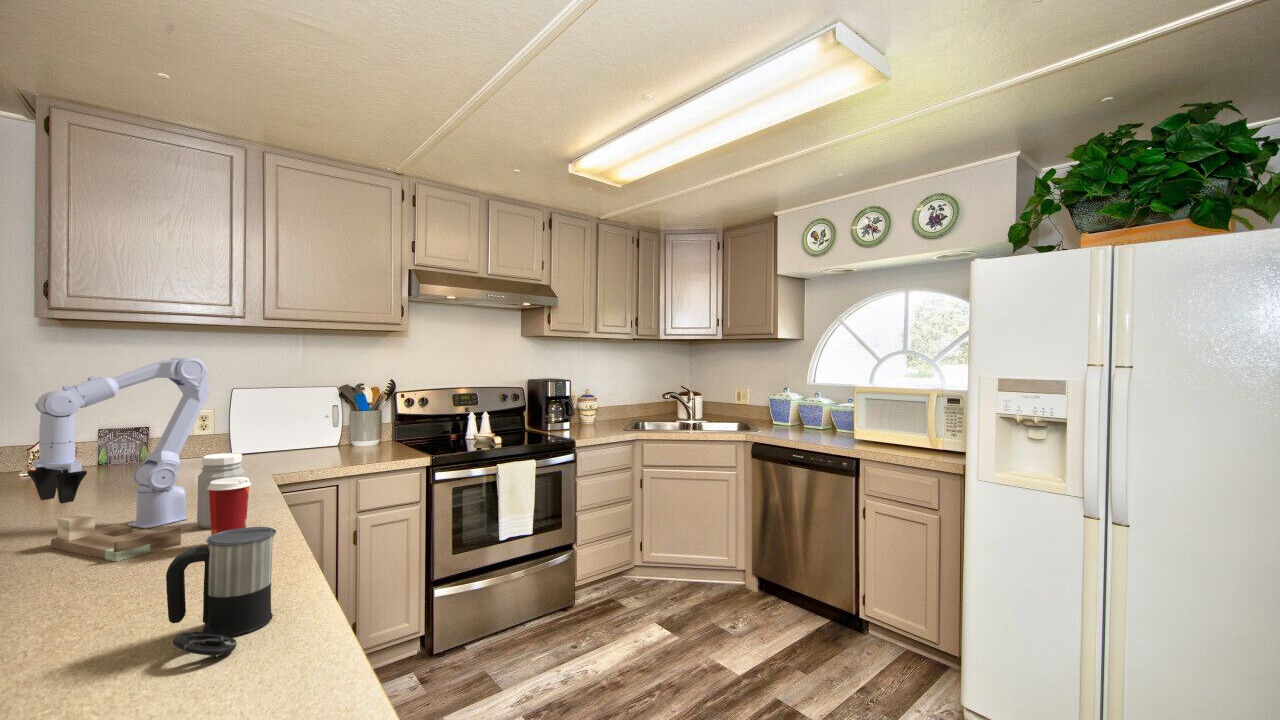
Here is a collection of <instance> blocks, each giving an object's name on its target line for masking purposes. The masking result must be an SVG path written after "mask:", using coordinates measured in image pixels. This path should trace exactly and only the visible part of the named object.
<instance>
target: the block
mask: <svg viewBox="0 0 1280 720" xmlns="http://www.w3.org/2000/svg"><path fill="white" fill-rule="evenodd" d="M95 529H96V515H95V514H94V515H93V514H89V513H79V514H73V515H70V516H69V515H68V516H64V517H59V518H57V538H58V539H63V540H68V541H70V540H74V539H79V538H83V537H88V536H92V535H95Z"/></svg>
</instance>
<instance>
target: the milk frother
mask: <svg viewBox="0 0 1280 720" xmlns="http://www.w3.org/2000/svg"><path fill="white" fill-rule="evenodd" d="M276 533H277V529H275V528H273V527H267V526H250V527H249V526H248V527H246V528H239V529H232V530H227V531H223V532H220V533H216V534H214V535H209V536H208V537H207V538H206V539H205V542H206V544H208V545H202V546H198V547H197V546H195V547H192V548H188V549H186V550H184V551H182V552H181V553H179V554H177V556H175V558H174V559H173V560H172V561H171V563H170V564H169V566H168V567H167V570H166V575H165V582H166V585H165V586H166V589H165V591H166V601H167V602H166V603H167V615H168V617H167V618H168V621H169V622H170V623H171V624H179V623H180V622H182V621H183V619H184V618H185V616H186V612H187V607H186V584H185V579H186V578H185V570H186V569H187V567H188V566H189V565H191V564H194V563H201V562H202V563H204V572H203V573H204V574H203V591H202V592H203V595H202V596H203V599H202V601H203V602H202V603H203V604H202V605H203V608H202V609H203V610H202V623H203V624H204V627H203V629H202V631H189V632H182V633H179V634H177V635H176V636H175V637H174V638H173V640H172V644H173V646H174V647H176V648H178V649H179V650H181V651H184V652H187V653H190V654H194V655H195V654H196V655H200V656H209V657H211V656H212V657H213V659H216V658H217V656H221V655H226V654H229V653H231V652H232V651H234V650H235V649H236V647H237V640H236V639H234V638H233V637H235V635H236V636H240V634H241V635H244V633H245V634H248V633H250V632H254V631H256V630H258V629H261V628H262V626H263V627H264V625H265V626H266V625H268V624H269V623H270V622H271V621H272V620H271V619H273V618H272V617H274V614H273V613H272V570H273V569H272V568H273V564H272V563H273V543H274V542H273V541H274V536H275V535H276ZM270 620H271V621H270ZM269 621H270V622H269ZM268 622H269V623H268ZM267 623H268V624H267ZM260 627H261V628H260ZM253 630H254V631H253ZM247 632H248V633H247ZM229 636H230V637H229ZM190 641H191V642H190Z"/></svg>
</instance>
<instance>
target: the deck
mask: <svg viewBox="0 0 1280 720" xmlns="http://www.w3.org/2000/svg"><path fill="white" fill-rule="evenodd" d="M181 534H182V528H181V526H175V527H171V528H168V529H167V528H166V529H163V530H159V531H156V530H150V529H145V528H144V529H141V530H137V531H133V526H128V525H122V524H118V523H117V524H112V525H108V526H104V527H99V528H95V535H92V536H88V537H83V538H79V539H74V540H70V541H68V540H63V539H58V537H53V538H51V539H50V548H51V549H54V548H56V549H55V550H59V549H61V550H60V551H64V550H66V551H65V552H68V551H70V552H69V553H73V552H75V553H74V554H78V553H79V554H78V555H82V554H84V556H87V555H88V557H91V556H94V557H93V558H96V557H98V558H97V559H101V558H103V559H102V560H105V559H108V560H107V561H110V560H113V561H112V562H115V561H118V562H121V561H120V560H122V561H124V560H123V559H125V560H128V559H127V558H129V559H131V557H133V558H135V557H134V556H136V557H140V556H143V555H142V554H144V555H146V554H145V553H147V554H150V553H149V552H151V553H154V552H157V551H156V550H158V551H161V550H160V549H162V550H164V549H163V548H165V549H169V548H172V547H171V546H173V547H176V546H180V545H181V544H182V542H181V541H182V539H181V538H182V535H181ZM168 547H169V548H168ZM153 551H154V552H153ZM139 555H140V556H139Z"/></svg>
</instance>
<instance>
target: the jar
mask: <svg viewBox="0 0 1280 720" xmlns="http://www.w3.org/2000/svg"><path fill="white" fill-rule="evenodd" d="M242 461H243V453H238V452H225V453H214V454H207V455H204V456H203V457H201V465H203V467H201V468H200V469H201V470H202V471H201V472H200V473H199V475H198V476H197V500H196V501H197V503H196V505H197V509H196V510H197V512H196V523H197V524H196V525H199V527H200V528H202V529H208V530H209V529H210V530H211V520H210V501H209V490H208V489H207V488H208V487H209V484H210V482H211V481H214V480H217V479H223V478H232V477H246V471H245V470H244V469H243V468H242V464H241V462H242Z"/></svg>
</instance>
